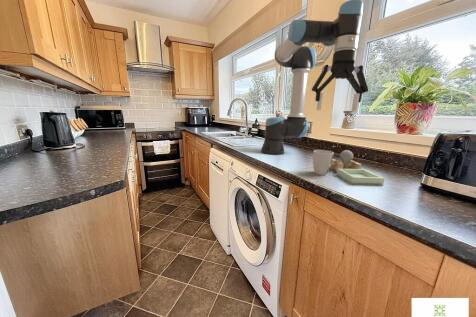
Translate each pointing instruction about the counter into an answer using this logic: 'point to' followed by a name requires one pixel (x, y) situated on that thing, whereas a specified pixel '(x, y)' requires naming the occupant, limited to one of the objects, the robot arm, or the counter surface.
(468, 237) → the counter surface
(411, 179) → the counter surface
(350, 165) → the holder
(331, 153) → the cup
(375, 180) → the dish
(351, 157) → the light bulb
